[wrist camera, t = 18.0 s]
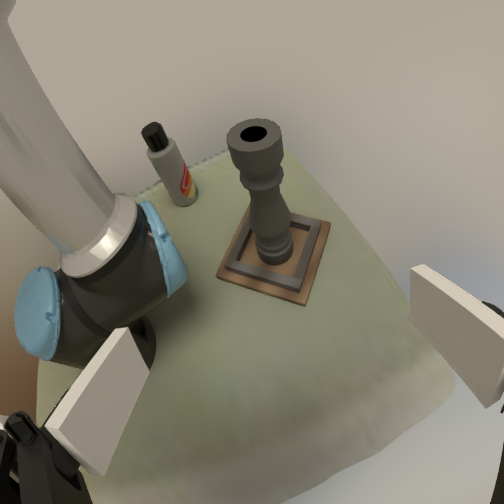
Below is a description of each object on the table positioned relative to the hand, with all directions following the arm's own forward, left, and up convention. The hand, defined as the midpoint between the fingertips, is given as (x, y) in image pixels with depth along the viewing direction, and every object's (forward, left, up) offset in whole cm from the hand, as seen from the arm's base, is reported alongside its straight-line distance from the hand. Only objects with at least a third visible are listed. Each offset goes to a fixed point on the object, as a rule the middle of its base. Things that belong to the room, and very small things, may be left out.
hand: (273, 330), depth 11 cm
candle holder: (-9, +18, -31) cm, 37 cm away
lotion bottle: (-32, +26, -32) cm, 53 cm away
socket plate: (-9, +19, -32) cm, 38 cm away
